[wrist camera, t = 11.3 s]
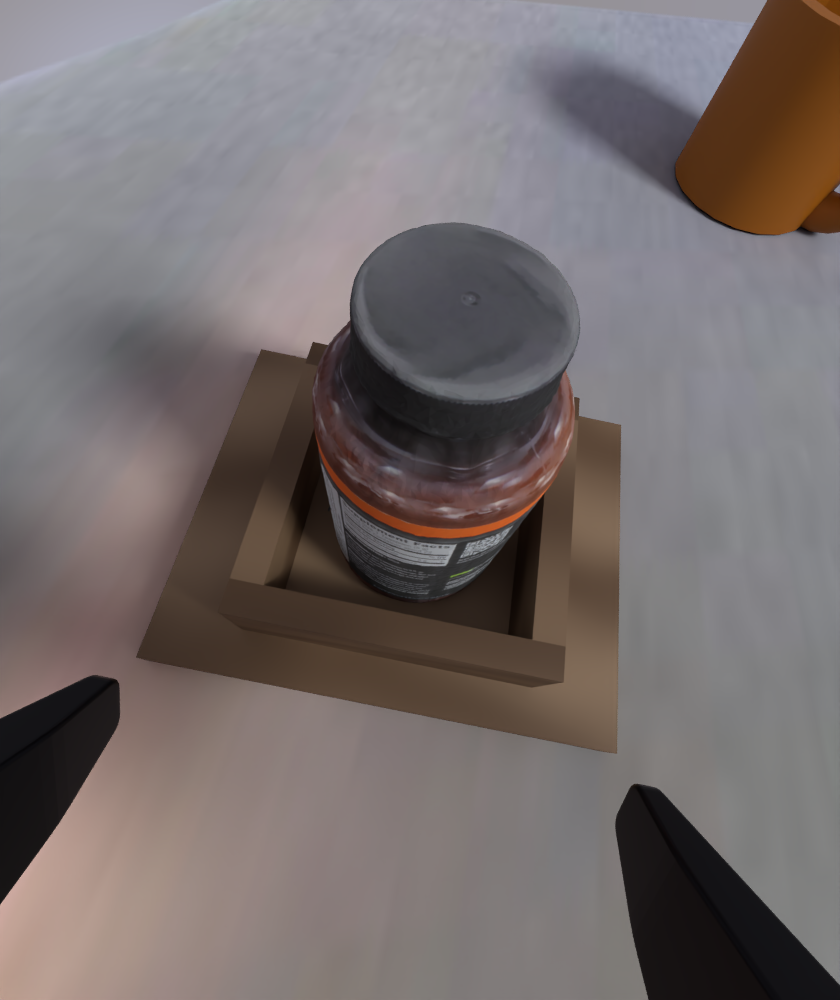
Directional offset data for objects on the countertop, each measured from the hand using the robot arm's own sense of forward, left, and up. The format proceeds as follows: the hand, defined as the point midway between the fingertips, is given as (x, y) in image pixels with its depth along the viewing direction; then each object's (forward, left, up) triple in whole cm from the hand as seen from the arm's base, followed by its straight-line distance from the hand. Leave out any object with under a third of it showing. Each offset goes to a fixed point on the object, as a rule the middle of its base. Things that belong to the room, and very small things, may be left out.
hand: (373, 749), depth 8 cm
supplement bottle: (+4, +6, -8) cm, 11 cm away
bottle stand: (+4, +6, -9) cm, 12 cm away
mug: (+32, +20, -9) cm, 39 cm away
